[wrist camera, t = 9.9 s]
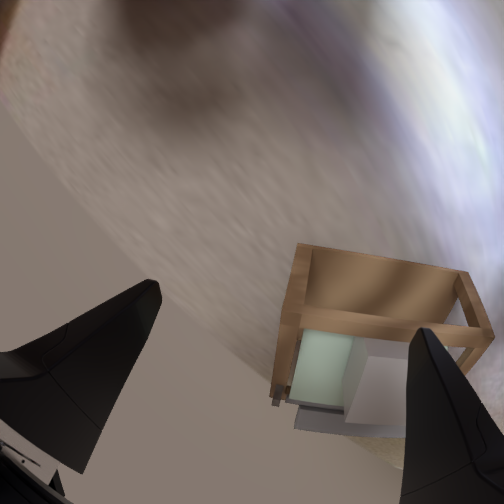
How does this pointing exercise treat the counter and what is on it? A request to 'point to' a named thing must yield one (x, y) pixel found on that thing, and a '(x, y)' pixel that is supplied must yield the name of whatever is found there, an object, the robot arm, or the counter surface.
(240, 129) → the counter surface
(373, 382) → the stone
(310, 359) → the trapdoor
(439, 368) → the robot arm
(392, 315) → the frame
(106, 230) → the counter surface
